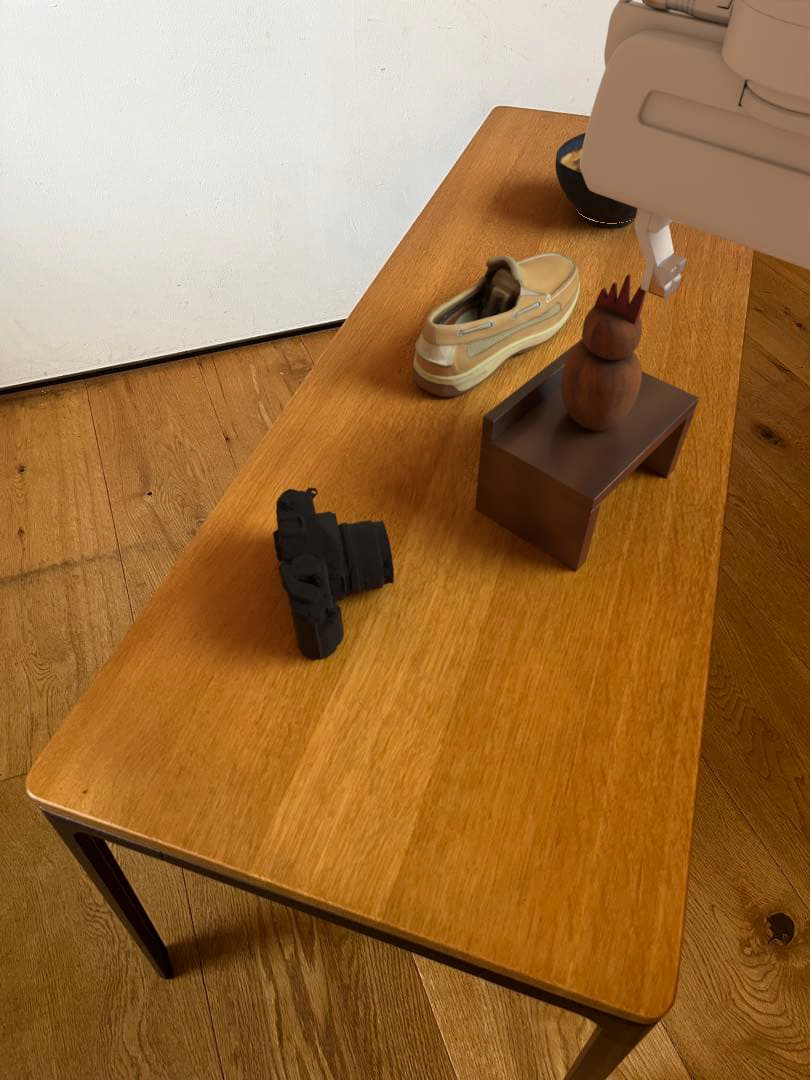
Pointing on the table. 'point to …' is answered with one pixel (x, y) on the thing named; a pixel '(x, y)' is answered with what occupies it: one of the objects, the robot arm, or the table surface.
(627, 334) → the wooden figurine
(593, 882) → the table surface
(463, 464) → the table surface
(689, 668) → the table surface
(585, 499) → the display shelf
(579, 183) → the bowl
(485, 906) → the table surface
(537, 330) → the boat shoe
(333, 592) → the film camera
